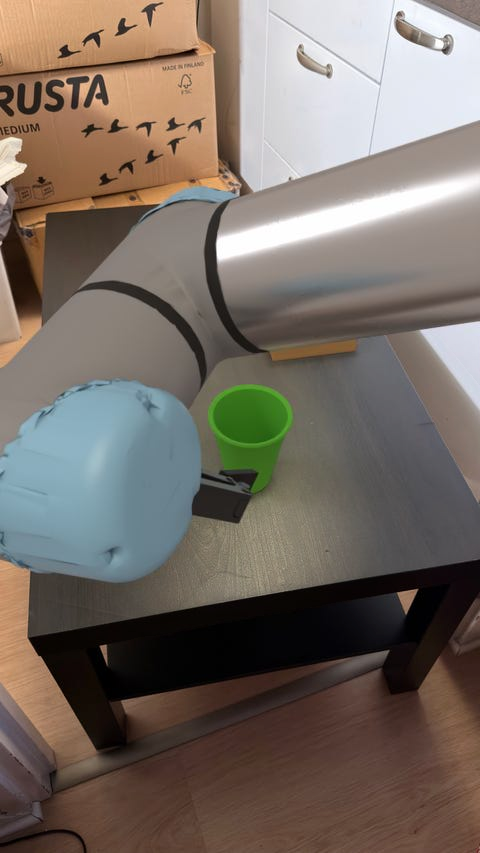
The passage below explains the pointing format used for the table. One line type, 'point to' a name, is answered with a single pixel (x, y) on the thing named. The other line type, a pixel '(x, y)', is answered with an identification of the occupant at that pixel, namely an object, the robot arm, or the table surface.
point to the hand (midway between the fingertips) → (188, 449)
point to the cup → (250, 429)
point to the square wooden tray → (314, 350)
